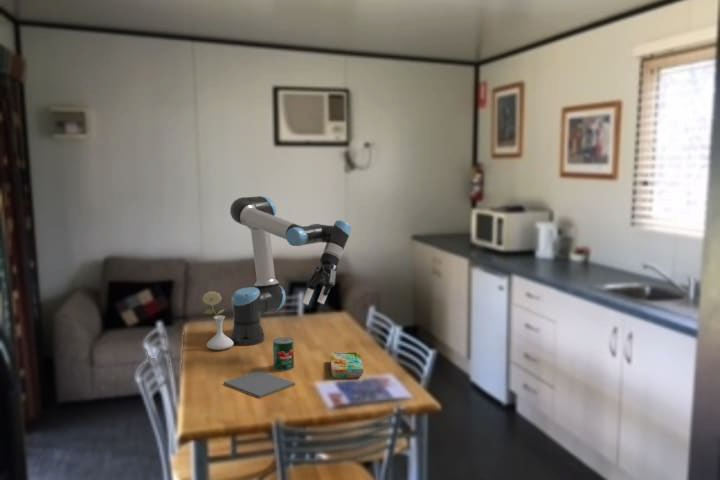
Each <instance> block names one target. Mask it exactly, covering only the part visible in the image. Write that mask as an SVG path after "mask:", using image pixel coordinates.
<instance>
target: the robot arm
mask: <svg viewBox="0 0 720 480" xmlns="http://www.w3.org/2000/svg"><path fill="white" fill-rule="evenodd" d="M276 214H277V209H276V205H275V203H274V201H273V200H272V199H271V198H270V197H267V196H262V195H261V196H259V195H258V196H247V197H246V196H243V197H239V198H237V199H235V200H234V201H233V202H232V204H231V205H230V216H231V218H232V219H233V221H234V222H236V223H238V224H240V225H243V226H246V227H247V229H249V231H250V234H251V241H252V242H251V245H252V252H253V259H254V268H255V275H256V276H255V277H256V281H255V283H254V284H253V287H252V286H250V287H249V286H248V287H242V288H240V289H237V290H236V291H235V292H234V293H233V295H232V297H233V298H232V308H233V326H232V329H231V334H230V337H229V338H230V339H231V340H232V341H233V343H234V344H233V345H236V346H237V345H238V346H251V345H258V344H261V343H263V342H264V341H265V333H264V330H263V327H262V325H261V315H264V314H267V313H271V312H276V311H278V310H280V309H281V308H283V306H284V305H285V303H286V291H285V289H284V287H282V286H281V285H280V282H279V281H278V279H276V274H275V266H274V265H275V264H274V257H273V256H274V255H273V248H272V238H271V235H274V236H276V237H278V238H281V239H284V240H286V241H287V242H288V244H289V245H290V246H293V247H301V246H305V245H310V244H311V245H313V244H317V243H318V244H319V243H325V246H324V249H323V252H322V254H321V257H320V259H319V262H320V263H321V265H320V266H316V268H315V270H314V272H313V274H312V275H311V276H310V278H309V280H308V281H307V283H306V285H305V287H306V288H307V289H306V291H305V293H304V296H303V298H302V301H301V303H302V304H304V305H307V306H309V303H310V301H311V299H312V296H313V294H314V292H315V288H316V287H317V285H318V284H319V283H320V281H322V280H323V279H324V284H323V286H322V289H321V291H320V294H319V296H318V298H317V302H318V303H319V304H321V305H324V304H325V302H326V299H327V297H328V294H329V292H330V290H331V289H332V288H334V287H335V284H336V275H337V270H338V265H339V262H340V259H341V257H342V256H343V251H344V250H345V247H346V244H347V243H348V239H349V237H350V235H351V231H352V226H351V225H350V223H348V222H346V221H344V220H338V219H337V220H336V221H335V222H334V224H333V225H327V224H320V223H311V224H309V225H306V226H302V225H299V224H296V223H293V222H291V221H289V220H286V219H283V218H282V217H281V218H280V217H278V216H276Z"/></svg>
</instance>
